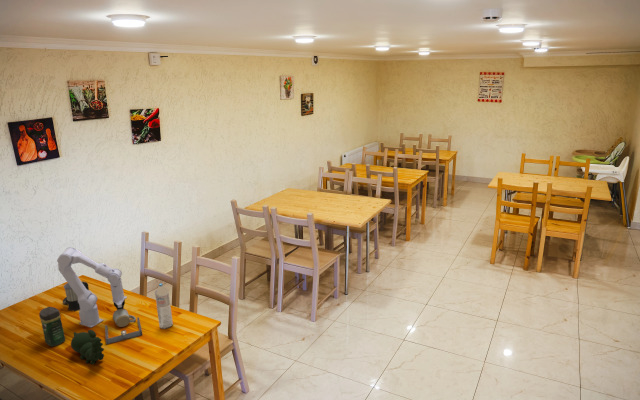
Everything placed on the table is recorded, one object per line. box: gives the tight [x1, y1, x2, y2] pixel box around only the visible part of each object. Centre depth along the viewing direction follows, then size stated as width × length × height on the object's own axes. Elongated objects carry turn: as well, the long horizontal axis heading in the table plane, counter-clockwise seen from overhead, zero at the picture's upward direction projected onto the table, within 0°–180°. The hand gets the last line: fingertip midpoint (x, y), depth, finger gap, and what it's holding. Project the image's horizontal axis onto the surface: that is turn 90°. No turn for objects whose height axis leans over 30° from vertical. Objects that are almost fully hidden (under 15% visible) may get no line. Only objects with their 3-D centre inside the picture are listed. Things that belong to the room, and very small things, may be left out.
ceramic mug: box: [112, 308, 137, 328], centre depth 237 cm, size 11×8×8 cm
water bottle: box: [154, 282, 174, 330], centre depth 232 cm, size 7×7×25 cm
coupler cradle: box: [104, 316, 143, 345], centre depth 229 cm, size 16×17×4 cm
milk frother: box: [62, 280, 90, 312], centre depth 256 cm, size 14×16×15 cm
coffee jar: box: [39, 306, 66, 347], centre depth 220 cm, size 10×8×19 cm
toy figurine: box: [70, 329, 105, 365], centre depth 208 cm, size 9×19×25 cm
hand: (121, 313), depth 241 cm, fingers closed
